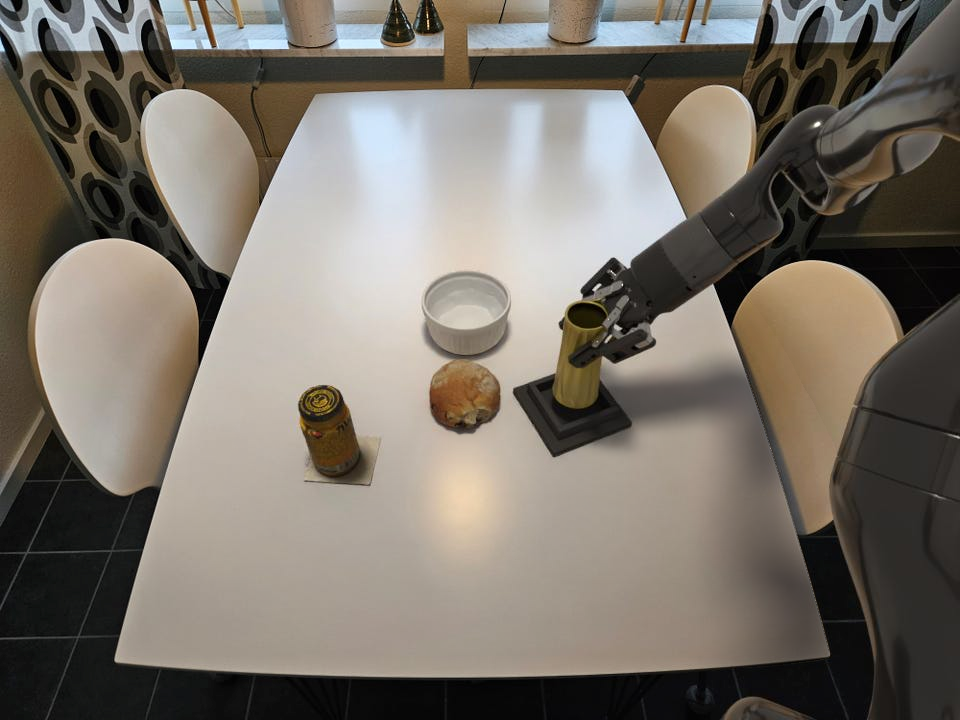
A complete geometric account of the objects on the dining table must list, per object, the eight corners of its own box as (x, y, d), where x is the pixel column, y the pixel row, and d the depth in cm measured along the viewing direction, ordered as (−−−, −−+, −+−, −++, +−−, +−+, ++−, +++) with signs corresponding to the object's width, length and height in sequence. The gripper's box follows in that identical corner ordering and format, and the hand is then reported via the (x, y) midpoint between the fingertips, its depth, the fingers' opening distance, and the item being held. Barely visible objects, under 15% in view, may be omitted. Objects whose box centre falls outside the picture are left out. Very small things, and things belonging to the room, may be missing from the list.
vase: (606, 400, 85) (623, 323, 75) (566, 415, 84) (577, 339, 73) (583, 369, 89) (595, 291, 79) (544, 383, 88) (551, 306, 77)
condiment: (318, 434, 87) (299, 376, 78) (381, 438, 86) (368, 380, 77) (304, 481, 82) (282, 424, 73) (370, 486, 81) (356, 429, 72)
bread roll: (504, 409, 94) (512, 359, 91) (485, 442, 85) (493, 388, 82) (440, 393, 96) (446, 344, 93) (415, 424, 87) (420, 370, 84)
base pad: (631, 426, 87) (635, 413, 85) (553, 457, 84) (555, 444, 82) (586, 366, 95) (588, 352, 93) (512, 392, 91) (513, 378, 89)
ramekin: (414, 312, 103) (410, 279, 97) (492, 294, 105) (493, 260, 100) (438, 371, 94) (435, 338, 89) (522, 349, 97) (524, 316, 92)
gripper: (646, 206, 74) (537, 293, 82) (686, 289, 65) (558, 378, 73) (681, 240, 78) (574, 319, 87) (723, 322, 69) (599, 403, 77)
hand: (567, 345), depth 80 cm, fingers closed on vase, 5 cm apart
